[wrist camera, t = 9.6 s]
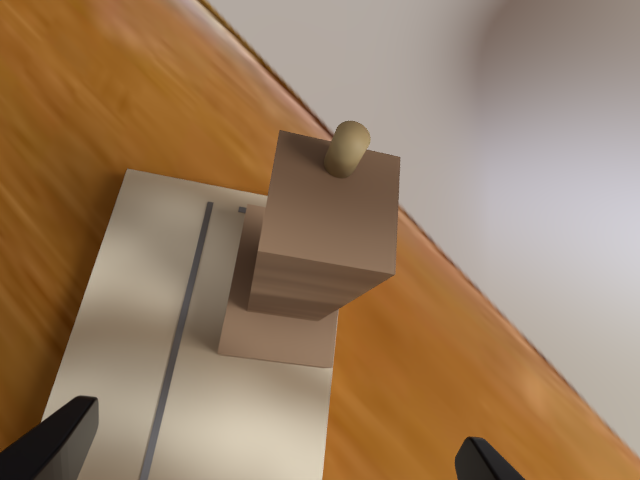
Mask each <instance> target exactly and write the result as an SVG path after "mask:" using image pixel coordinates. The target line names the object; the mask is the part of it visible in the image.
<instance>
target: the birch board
mask: <svg viewBox="0 0 640 480" xmlns="http://www.w3.org/2000/svg"><path fill="white" fill-rule="evenodd" d="M267 197H268V196H264V195H259V194H254V193H249V192H244V191H239V190H234V189H228V188H223V187H218V186H213V185H208V184H203V183H198V182H193V181H188V180H183V179H178V178H172V177H167V176H162V175H157V174H152V173H147V172H142V171H137V170H132V169H127V171H126V174H125V177H124V180H123V183H122V186H121V189H120V192H119V194H118V197H117V200H116V203H115V206H114V209H113V212H112V215H111V218H110V221H109V224H108V227H107V230H106V233H105V236H104V238H103V241H102V244H101V247H100V250H99V253H98V256H97V259H96V262H95V265H94V268H93V271H92V274H91V277H90V280H89V282H88V285H87V288H86V291H85V294H84V297H83V300H82V303H81V306H80V309H79V312H78V315H77V318H76V321H75V324H74V326H73V329H72V332H71V335H70V338H69V341H68V344H67V347H66V350H65V353H64V356H63V359H62V362H61V365H60V368H59V370H58V373H57V376H56V379H55V382H54V385H53V388H52V391H51V394H50V397H49V400H48V403H47V406H46V409H45V412H44V414H43V417H42V420H41V422H42V421H43V420H45V419H46V418H47V417H49V416H50V415H51V414H53V413H54V412H55V411H57V410H58V409H60V408H61V407H62V406H64V405H65V404H66V403H68V402H69V401H70V400H72V399H73V398H74V397H76V396H79V395H84V396H93V397H97V398H98V402H99V425H98V429H97V432H96V435H95V437H94V440H93V442H92V445H91V447H90V449H89V452H88V454H87V457H86V459H85V461H84V464H83V466H82V469H81V471H80V473H79V476H78V478H77V480H322V474H323V464H324V454H325V443H326V433H327V422H328V412H329V402H330V391H331V381H332V371H333V368H317V367H309V366H301V365H293V364H285V363H277V362H269V361H261V360H253V359H246V358H238V357H230V356H222V355H219V354H218V348H219V343H220V338H221V333H222V328H223V323H224V318H225V313H226V308H227V303H228V298H229V293H230V288H231V283H232V278H233V273H234V268H235V263H236V258H237V253H238V248H239V243H240V238H241V233H242V228H243V223H244V218H245V213H246V209H247V204H251V205H256V206H261V207H266V203H267ZM337 319H338V316H337ZM336 329H337V327H336ZM335 340H336V337H335ZM334 350H335V348H334ZM333 360H334V358H333Z"/></svg>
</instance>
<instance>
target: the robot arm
mask: <svg viewBox="0 0 640 480" xmlns="http://www.w3.org/2000/svg"><path fill="white" fill-rule="evenodd" d="M98 425H99V402H98V398H97V397H93V396H84V395H79V396H76V397H74V398H73V399H72V400H70V401H69V402H68V403H66V404H65V405H64V406H62V407H61V408H60V409H58V410H57V411H55V412H54V413H53V414H51V415H50V416H49V417H47V418H46V419H45V420H43V421H42V422H41V423H39V424H38V425H37V426H35V427H34V428H33V429H31V430H30V431H29V432H27V433H26V434H25V435H23V436H22V437H21V438H19V439H18V440H17V441H15V442H14V443H13V444H11V445H10V446H8V447H7V448H6V449H4V450H3V451H2V452H0V480H77V478H78V476H79V473H80V471H81V469H82V466H83V464H84V461H85V459H86V457H87V454H88V452H89V449H90V447H91V445H92V442H93V440H94V437H95V435H96V432H97V429H98ZM455 469H456V473H457V478H458V480H525V479H524V478H523V477H522V476H521V475H520V474H519V473H518V472H517V471H516V470H515V469H514V468H513V467H512V466H511V465H510V464H509V463H508V462H507V461H506V460H505V459H504V458H503V457H502V456H501V455H500V454H499V453H498V452H497V451H496V450H495V449H494V448H493V447H492V446H491V445H490V444H489V443H488V442H487V441H486V440H485V439H483V438H480V437H467V438H466V439H465V440H464V442H463V444H462V446H461V448H460V449H459V451H458V453H457V455H456V457H455Z"/></svg>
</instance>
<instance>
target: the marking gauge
mask: <svg viewBox="0 0 640 480" xmlns="http://www.w3.org/2000/svg"><path fill="white" fill-rule="evenodd" d="M369 144H370V134H369V132H368V130H367V129H366V128H365V127H364V126H363V125H362V124H360V123H358V122H355V121H345V122H343V123H341V124H340V125H339V126H338V127H337V129H336V131H335V134H334V136H333V139H332V141H326V140H322V139H317V138H313V137H308V136H304V135H299V134H295V133H291V132H286V131H282V130H280V131H279V137H278V142H277V148H276V153H275V159H274V164H273V170H272V175H271V181H270V186H269V192H268V197H267V203H266V207H261V206H256V205H251V204H247V209H246V213H245V218H244V223H243V228H242V233H241V238H240V243H239V248H238V253H237V258H236V263H235V268H234V273H233V278H232V283H231V288H230V293H229V298H228V303H227V308H226V313H225V318H224V323H223V328H222V333H221V338H220V343H219V348H218V354H219V355H222V356H230V357H238V358H246V359H253V360H261V361H269V362H277V363H285V364H293V365H301V366H309V367H317V368H333V358H334V348H335V337H336V327H337V316H338V309H339V308H341V307H343V306H344V305H346V304H347V303H349V302H351V301H352V300H354V299H356V298H357V297H359V296H361V295H362V294H364V293H366V292H367V291H369V290H370V289H372V288H374V287H375V286H377V285H379V284H380V283H382V282H384V281H385V280H387V279H389V278H390V277H392V276H394V275H395V268H396V245H397V222H398V199H399V176H400V175H399V174H400V157H398V156H393V155H389V154H384V153H379V152H375V151H371V150H366V149H367V148H368V146H369Z"/></svg>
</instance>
